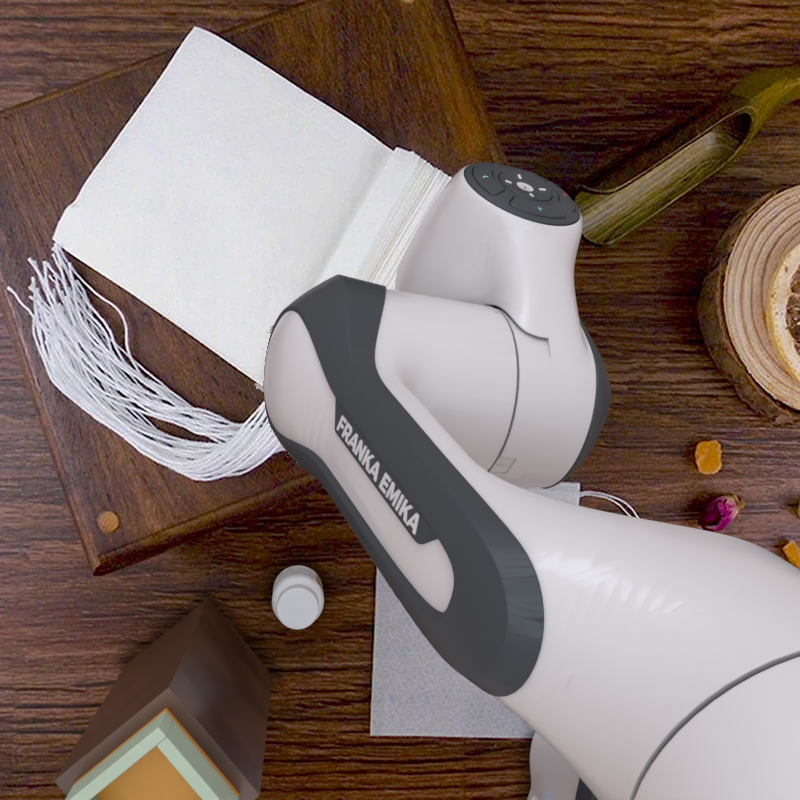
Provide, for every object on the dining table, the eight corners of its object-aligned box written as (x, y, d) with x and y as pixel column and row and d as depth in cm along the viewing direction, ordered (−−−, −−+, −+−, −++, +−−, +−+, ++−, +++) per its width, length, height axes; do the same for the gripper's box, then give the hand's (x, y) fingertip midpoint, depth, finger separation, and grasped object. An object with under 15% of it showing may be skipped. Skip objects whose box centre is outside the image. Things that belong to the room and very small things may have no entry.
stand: (272, 674, 88) (260, 795, 62) (192, 740, 88) (146, 889, 62) (208, 597, 88) (168, 686, 62) (127, 662, 87) (53, 780, 61)
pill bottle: (317, 617, 89) (318, 640, 81) (268, 609, 88) (265, 630, 80) (327, 569, 89) (329, 587, 81) (278, 560, 88) (276, 577, 80)
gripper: (259, 341, 62) (211, 471, 72) (552, 468, 64) (467, 577, 74) (288, 283, 67) (239, 412, 76) (561, 403, 69) (480, 514, 78)
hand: (353, 494), depth 75 cm, fingers open, 8 cm apart
